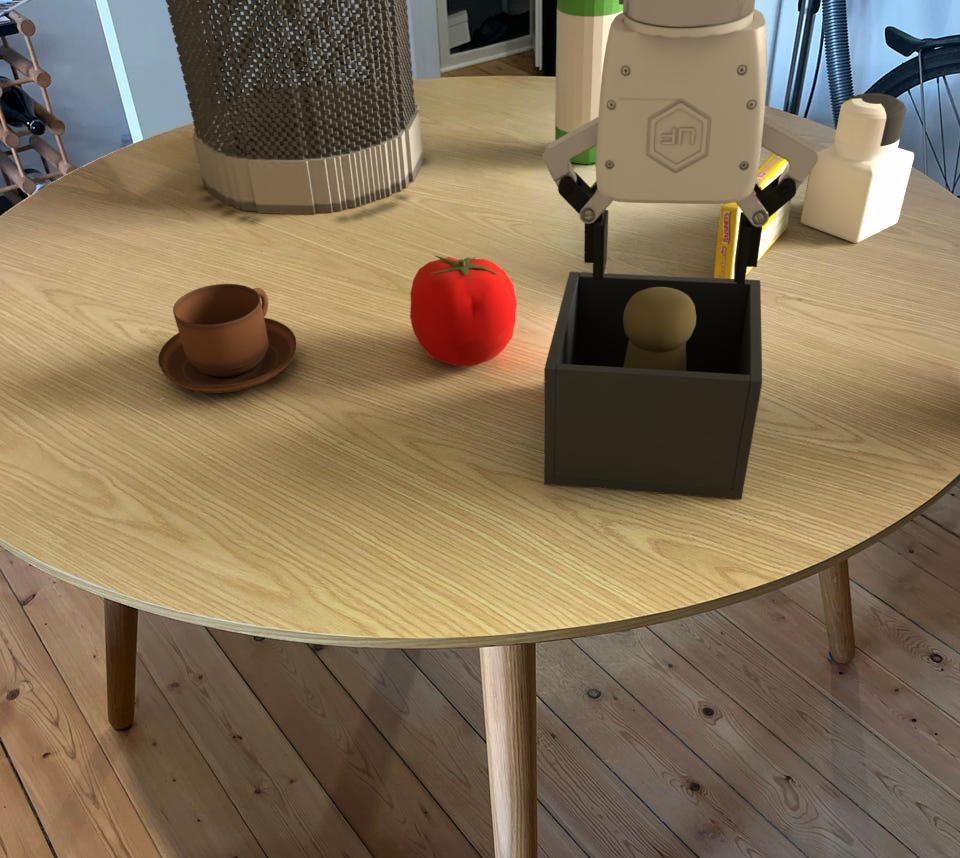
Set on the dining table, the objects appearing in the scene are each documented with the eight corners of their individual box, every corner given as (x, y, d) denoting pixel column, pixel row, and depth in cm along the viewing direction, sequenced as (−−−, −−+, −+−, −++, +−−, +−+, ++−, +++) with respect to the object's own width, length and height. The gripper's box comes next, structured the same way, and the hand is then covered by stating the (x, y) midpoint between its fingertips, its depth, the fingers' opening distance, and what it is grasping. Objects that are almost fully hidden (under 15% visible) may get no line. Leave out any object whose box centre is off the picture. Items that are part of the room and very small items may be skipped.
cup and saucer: (192, 332, 96) (175, 268, 91) (315, 337, 94) (304, 273, 89) (142, 402, 87) (121, 336, 83) (276, 409, 86) (262, 342, 81)
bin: (742, 392, 85) (760, 279, 78) (741, 499, 75) (762, 381, 68) (567, 381, 87) (569, 271, 80) (543, 484, 77) (544, 368, 70)
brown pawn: (700, 418, 81) (717, 286, 73) (669, 458, 77) (684, 324, 69) (630, 399, 83) (640, 269, 75) (597, 436, 80) (604, 305, 72)
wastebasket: (436, 131, 129) (416, -167, 108) (397, 215, 112) (364, -121, 91) (244, 130, 133) (189, -161, 111) (177, 211, 115) (96, -115, 94)
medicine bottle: (841, 203, 110) (866, 82, 101) (898, 223, 106) (930, 98, 97) (798, 223, 107) (821, 100, 98) (856, 245, 103) (885, 118, 94)
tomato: (472, 394, 86) (467, 300, 80) (386, 356, 91) (375, 266, 85) (541, 348, 91) (541, 257, 85) (455, 315, 96) (450, 226, 90)
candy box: (767, 225, 107) (781, 142, 101) (787, 229, 106) (802, 145, 100) (708, 291, 97) (719, 203, 91) (730, 295, 96) (742, 207, 90)
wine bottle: (542, 151, 123) (544, -162, 102) (597, 137, 126) (609, -171, 105) (576, 172, 119) (585, -152, 97) (632, 157, 121) (653, -162, 100)
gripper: (532, 12, 58) (538, 295, 70) (850, 7, 55) (798, 303, 67) (550, -23, 63) (552, 247, 75) (841, -30, 60) (795, 252, 72)
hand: (668, 273), depth 71 cm, fingers open, 9 cm apart
